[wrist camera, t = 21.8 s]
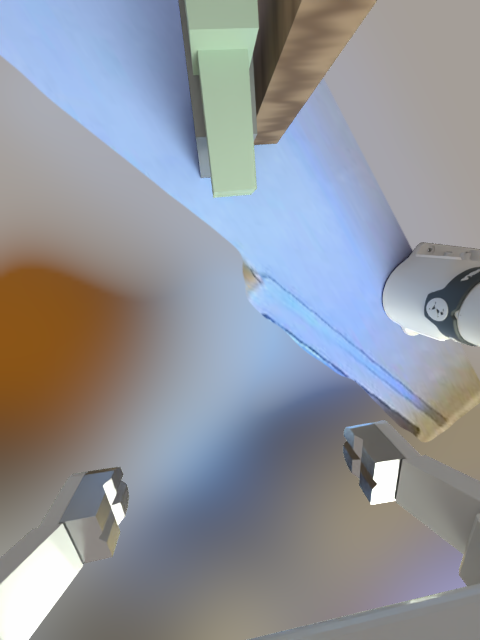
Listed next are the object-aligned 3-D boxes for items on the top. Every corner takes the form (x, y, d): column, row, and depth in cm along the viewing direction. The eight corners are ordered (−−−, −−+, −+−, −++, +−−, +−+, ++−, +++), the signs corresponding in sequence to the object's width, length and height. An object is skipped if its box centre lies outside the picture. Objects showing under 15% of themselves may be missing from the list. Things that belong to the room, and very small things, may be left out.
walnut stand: (274, 79, 36) (420, -280, 11) (276, 143, 38) (399, -32, 14) (240, 80, 35) (315, -290, 11) (245, 145, 38) (314, -32, 13)
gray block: (232, 98, 36) (249, -7, 21) (238, 175, 39) (257, 133, 24) (191, 100, 35) (177, -6, 20) (200, 178, 38) (196, 137, 23)
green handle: (242, -18, 20) (252, -97, 16) (256, 194, 25) (266, 183, 21) (182, -18, 20) (173, -99, 15) (208, 198, 25) (208, 188, 20)
